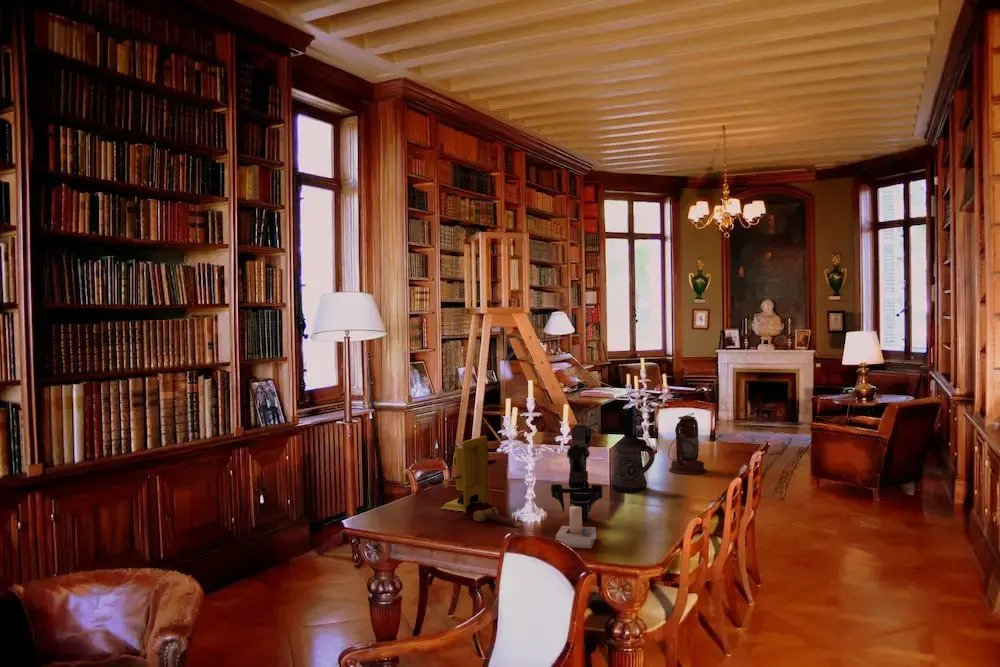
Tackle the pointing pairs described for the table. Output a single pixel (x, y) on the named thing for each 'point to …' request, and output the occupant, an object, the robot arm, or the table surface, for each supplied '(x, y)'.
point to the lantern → (687, 448)
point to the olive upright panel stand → (470, 474)
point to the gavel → (493, 516)
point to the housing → (577, 537)
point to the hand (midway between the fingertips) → (576, 511)
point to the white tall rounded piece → (575, 520)
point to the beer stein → (631, 465)
